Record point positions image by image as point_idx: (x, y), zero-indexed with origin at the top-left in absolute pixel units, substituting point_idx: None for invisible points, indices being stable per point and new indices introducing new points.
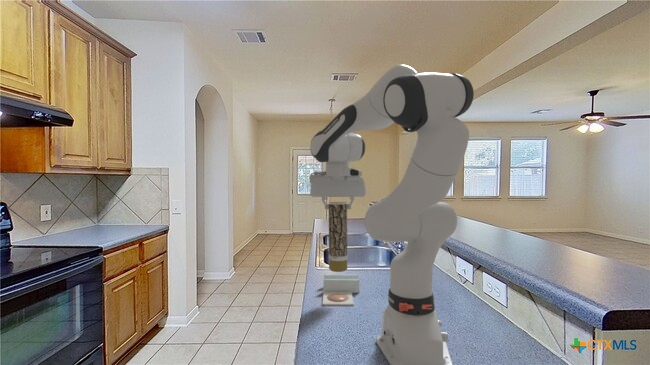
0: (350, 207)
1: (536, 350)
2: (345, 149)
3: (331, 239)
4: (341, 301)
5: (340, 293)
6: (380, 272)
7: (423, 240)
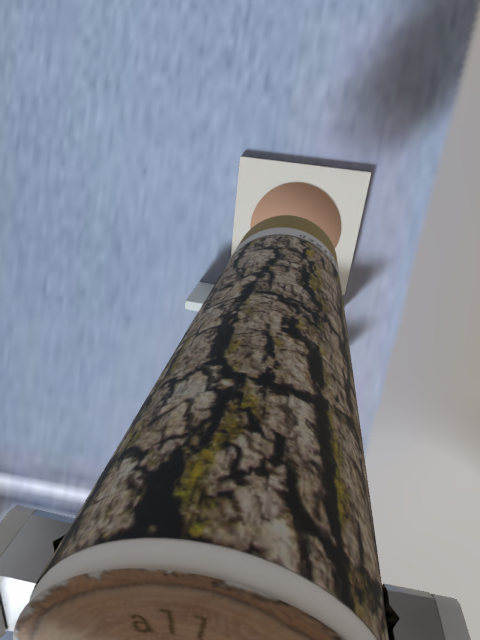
0: (10, 522)
1: None
2: None
3: (334, 301)
4: (286, 184)
5: None
6: (94, 460)
7: None
